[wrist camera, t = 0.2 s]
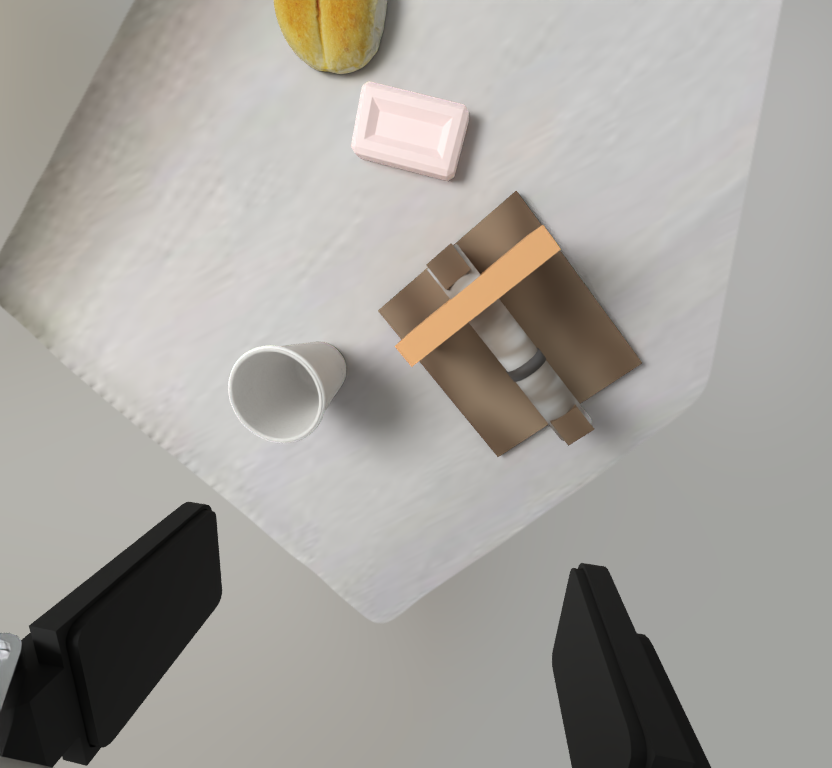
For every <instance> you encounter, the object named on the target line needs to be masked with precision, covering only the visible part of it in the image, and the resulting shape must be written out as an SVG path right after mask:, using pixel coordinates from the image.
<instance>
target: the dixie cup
mask: <svg viewBox="0 0 832 768" xmlns="http://www.w3.org/2000/svg"><path fill="white" fill-rule="evenodd" d="M346 371H347V370H346V363H345V360H344V358H343V356H342V355H341V353H340V352H339V351H338V350H337V349H336V348H335V347H333V346H332V345H330V344H328V343H325V342H310V343H302V344H294V345H286V346H274V345H266V346H260V347H256V348H254V349H251V350H249V351H248V352H246V353H245V354H243V355H242V356H241V357H240V358H239V359H238V360H237V362H236V363H235V365H234V366H233V368H232V371H231V373H230V377H229V383H228V392H229V398H230V402H231V405H232V408H233V410H234V412H235V414H236V416H237V417H238V419H239V420H240V421H241V422H242V424H243V425H244V426H245V427H246V428H247V429H248V430H250V431H251V432H252V433H254V434H255V435H257V436H259V437H260V438H263V439H265V440H268V441H271V442H276V443H291V442H296V441H299V440H301V439H304V438H305V437H307V436H308V435H310V434H311V433H312V432H313V431H314V430H315V429H316V428H317V427H318V425H319V424H320V422H321V420H322V417H323V415H324V412H325V410H326V409H327V407H328V405H329V404H330V402H331V401H332V399H333V398H334V396H335V395H336V393H337V392H338V390H339V389H340V387H341V386H342V384H343V382H344V380H345V378H346Z"/></svg>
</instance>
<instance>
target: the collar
mask: <svg viewBox="0 0 832 768" xmlns="http://www.w3.org/2000/svg"><path fill="white" fill-rule="evenodd" d="M559 250H561V249H560V247H559V246H558V244H557V243H556V242H555V240H554V239H553V238H552V236H551V235H550V233H549V232H548V231H547V229H546V228H545V227H544V225H542V226H540V227H539V228H537V229H536V230H534V231H533V232H532V233H530V234H529V235H527V236H526V237H525V238H524V239H522V240H521V241H520V242H519V243H518V244H516V245H515V246H514V247H513V248H511V249H510V250H509V251H508V252H507V253H505V254H504V255H503V256H502V257H501V258H499V259H498V260H497V261H496V262H494V263H493V264H492V265H491V266H490V267H488V268H487V269H486V270H485V271H484V272H482V273H481V274H480V276H479V277H478V278H477V279H475V280H474V281H473V282H472V283H471V284H469V285H468V286H467V287H466V288H464V289H463V290H462V291H461V292H460V293H458V294H457V295H456V296H455V297H454V298H452V299H449V300H448V301H447V302H446V303H445V304H443V305H442V306H441V307H440V308H439V309H437V310H436V311H435V312H434V313H432V314H431V315H430V316H429V317H428V318H426V319H425V320H424V321H423V322H422V323H420V324H419V325H418V326H417V327H415V328H414V329H413V330H412V331H411V332H410V333H409V334H407V335H406V336H405V337H404V338H403V339H402V340H401V341H400V342H399V343H398V344H397V345H396V346H395V347H396V349H397V350H398V351H399V352H400V353H401V355H402V356H403V357H404V358H405V359H406V361H407V362H408V363H409V364H410V365H411V367H412V366H414V365H415V364H416V363H417V362H419V361H420V360H421V359H423V358H424V357H425V356H426V355H428V354H429V353H430V352H431V351H433V350H434V349H435V348H436V347H438V346H439V345H440V344H442V343H443V342H444V341H445V340H447V339H448V338H449V337H450V336H452V335H453V334H454V333H455V332H457V331H458V330H459V329H461V328H462V327H463V326H464V325H466V324H467V323H468V322H469V321H471V320H472V319H473V318H474V317H476V316H477V315H478V314H480V313H481V312H482V311H483V310H485V309H486V308H487V307H488V306H490V305H491V304H492V303H493V302H495V301H496V300H497V299H499V298H500V297H501V296H502V295H504V294H505V293H506V292H507V291H509V290H510V289H511V288H513V287H514V286H515V285H516V284H518V283H519V282H520V281H521V280H523V279H524V278H525V277H526V276H528V275H529V274H530V273H532V272H533V271H534V270H535V269H537V268H538V267H539V266H540V265H542V264H543V263H544V262H545V261H547V260H548V259H549V258H551V257H552V256H553V255H554V254H556V253H557V252H558V251H559Z"/></svg>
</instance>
